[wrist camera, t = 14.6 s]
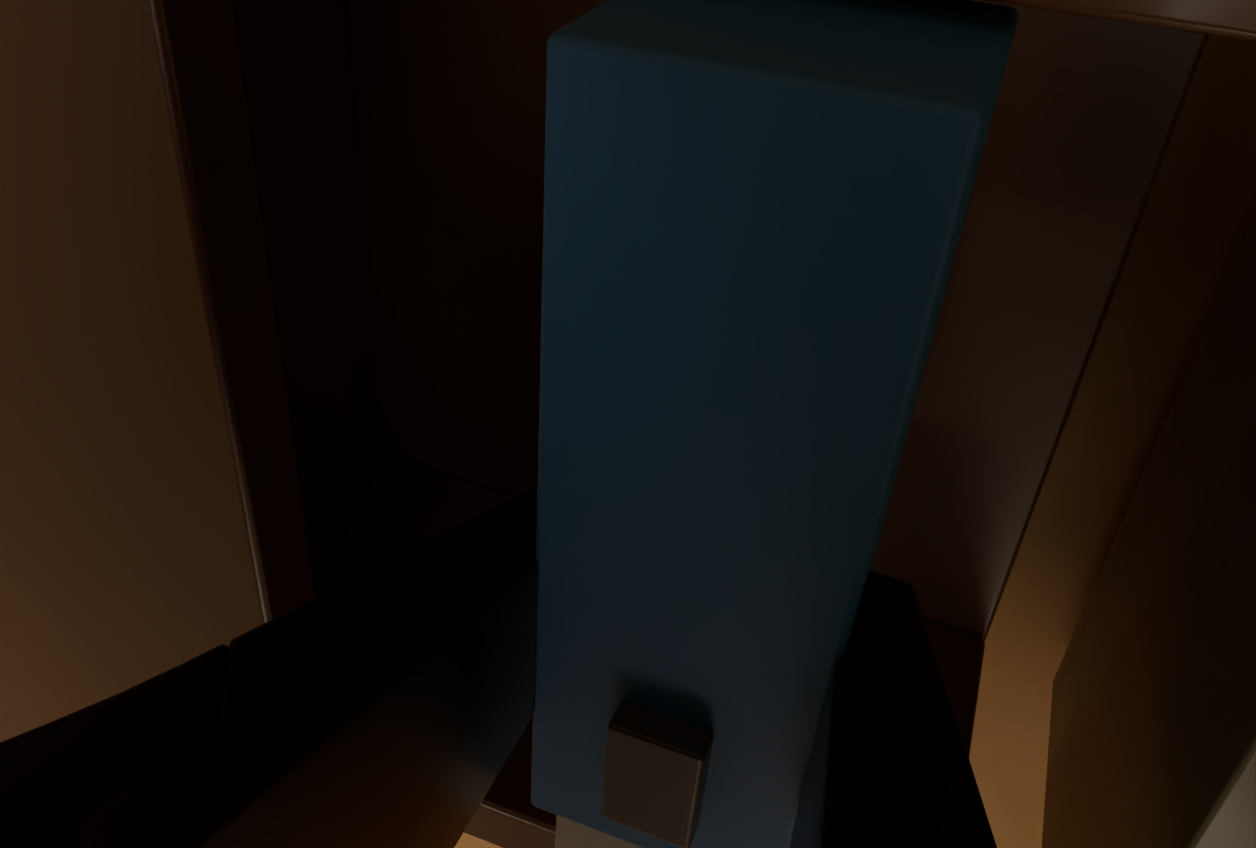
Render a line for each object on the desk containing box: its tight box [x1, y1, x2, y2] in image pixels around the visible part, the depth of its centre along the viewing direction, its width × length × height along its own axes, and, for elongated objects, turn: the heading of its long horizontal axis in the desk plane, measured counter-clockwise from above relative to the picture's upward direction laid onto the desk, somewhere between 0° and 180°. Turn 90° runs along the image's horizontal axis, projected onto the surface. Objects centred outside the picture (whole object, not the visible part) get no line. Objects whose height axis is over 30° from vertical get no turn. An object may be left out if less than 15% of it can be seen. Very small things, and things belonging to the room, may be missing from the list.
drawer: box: [232, 0, 1256, 848], centre depth 12 cm, size 18×13×7 cm
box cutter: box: [531, 0, 1018, 848], centre depth 9 cm, size 10×2×3 cm, turn 175°
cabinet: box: [0, 0, 315, 742], centre depth 15 cm, size 15×14×9 cm
